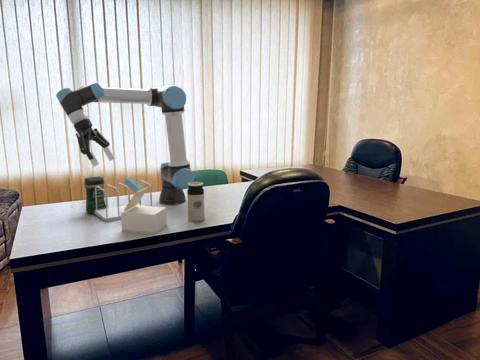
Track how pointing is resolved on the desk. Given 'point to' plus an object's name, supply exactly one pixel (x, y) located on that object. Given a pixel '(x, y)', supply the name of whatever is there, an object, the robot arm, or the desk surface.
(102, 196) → the coffee jar
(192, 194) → the dark labelled jar
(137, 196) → the flap
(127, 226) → the carton
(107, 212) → the file sorter
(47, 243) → the desk surface
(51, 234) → the desk surface
